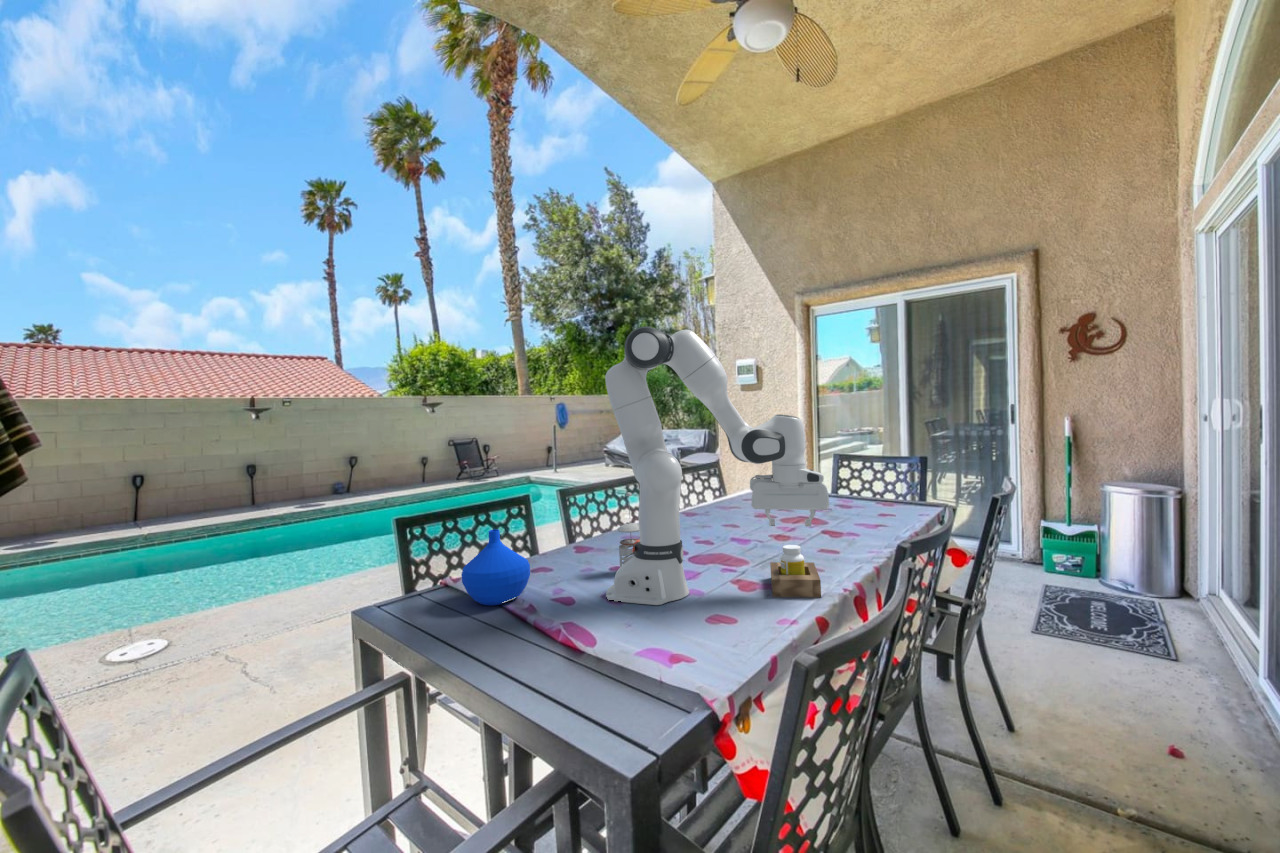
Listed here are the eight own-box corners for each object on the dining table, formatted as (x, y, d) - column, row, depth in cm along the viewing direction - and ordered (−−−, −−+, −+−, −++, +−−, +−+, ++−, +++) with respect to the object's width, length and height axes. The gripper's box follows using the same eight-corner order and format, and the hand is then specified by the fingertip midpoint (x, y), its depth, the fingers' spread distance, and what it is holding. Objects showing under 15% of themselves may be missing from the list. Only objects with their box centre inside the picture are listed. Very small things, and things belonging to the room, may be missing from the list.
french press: (616, 569, 175) (611, 491, 174) (651, 566, 176) (647, 488, 175) (618, 578, 165) (613, 495, 164) (656, 574, 166) (651, 492, 165)
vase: (541, 588, 158) (537, 523, 158) (516, 611, 140) (511, 537, 140) (482, 588, 161) (478, 524, 161) (450, 611, 143) (445, 538, 143)
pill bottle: (809, 586, 148) (807, 545, 148) (798, 592, 143) (796, 550, 143) (788, 582, 152) (786, 542, 152) (777, 588, 148) (775, 547, 147)
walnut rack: (772, 596, 141) (771, 579, 141) (771, 577, 157) (770, 562, 157) (821, 597, 139) (820, 579, 139) (814, 578, 154) (813, 562, 154)
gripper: (749, 476, 146) (750, 527, 146) (829, 476, 142) (830, 528, 142) (749, 473, 152) (750, 522, 153) (826, 473, 148) (827, 524, 148)
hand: (790, 525), depth 147 cm, fingers open, 8 cm apart
